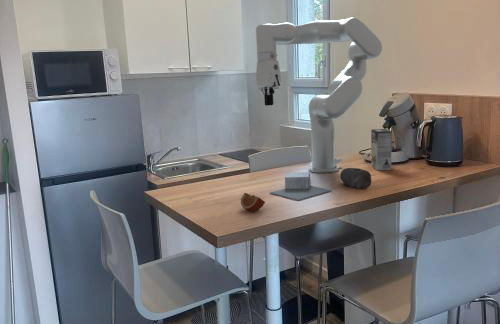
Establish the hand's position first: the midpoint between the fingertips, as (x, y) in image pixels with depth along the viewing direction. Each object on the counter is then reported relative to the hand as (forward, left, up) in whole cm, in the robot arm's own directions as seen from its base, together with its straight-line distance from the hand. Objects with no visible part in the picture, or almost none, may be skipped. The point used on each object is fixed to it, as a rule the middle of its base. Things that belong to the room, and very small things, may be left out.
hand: (269, 105), depth 171 cm
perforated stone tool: (-8, +35, -29) cm, 46 cm away
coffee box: (-40, +24, -29) cm, 55 cm away
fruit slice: (+34, +30, -29) cm, 54 cm away
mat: (+10, +26, -29) cm, 40 cm away
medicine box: (+9, +17, -26) cm, 33 cm away
